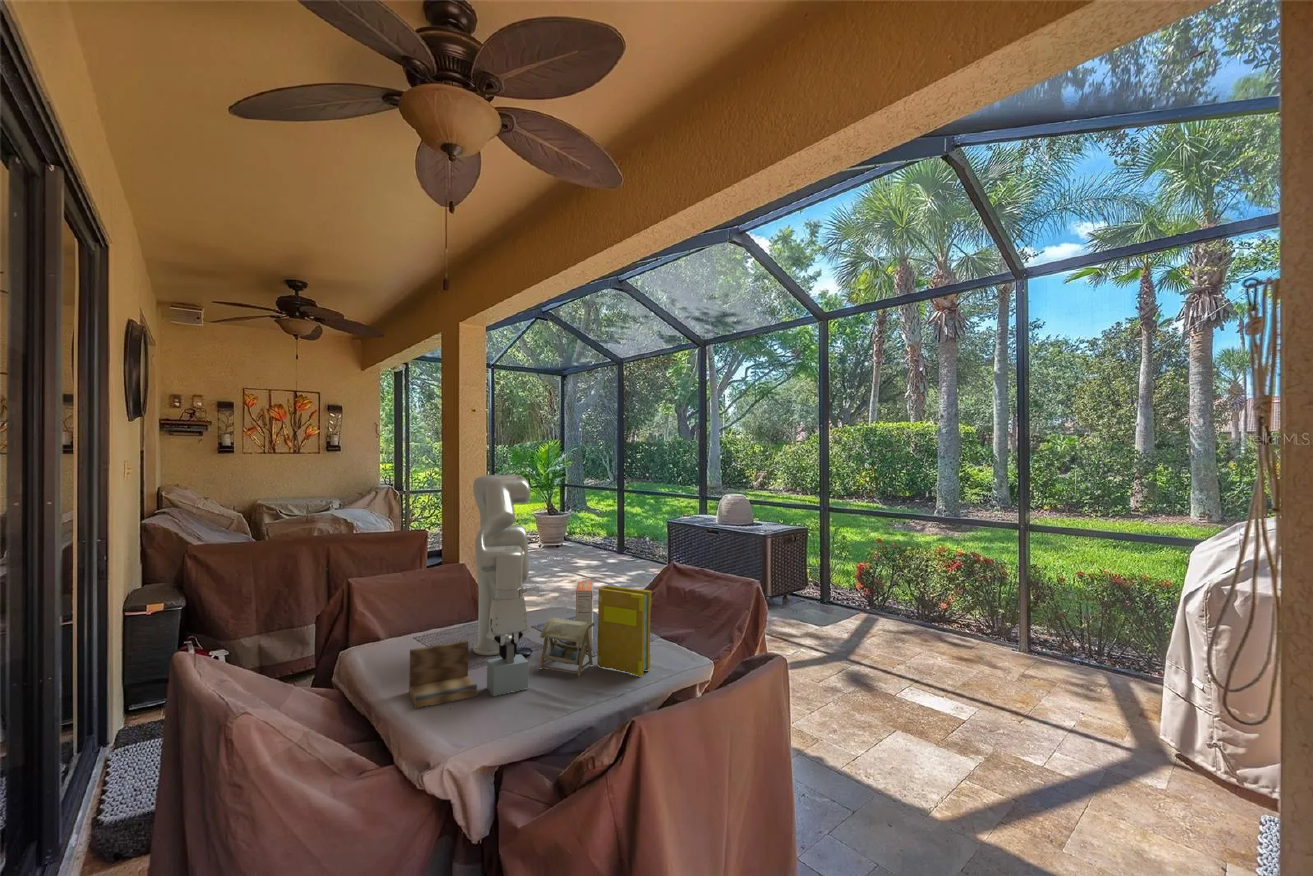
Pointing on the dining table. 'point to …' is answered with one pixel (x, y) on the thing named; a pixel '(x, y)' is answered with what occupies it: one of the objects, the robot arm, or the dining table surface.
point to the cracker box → (585, 606)
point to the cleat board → (440, 674)
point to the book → (624, 629)
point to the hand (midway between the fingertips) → (507, 656)
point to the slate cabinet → (507, 672)
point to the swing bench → (563, 652)
